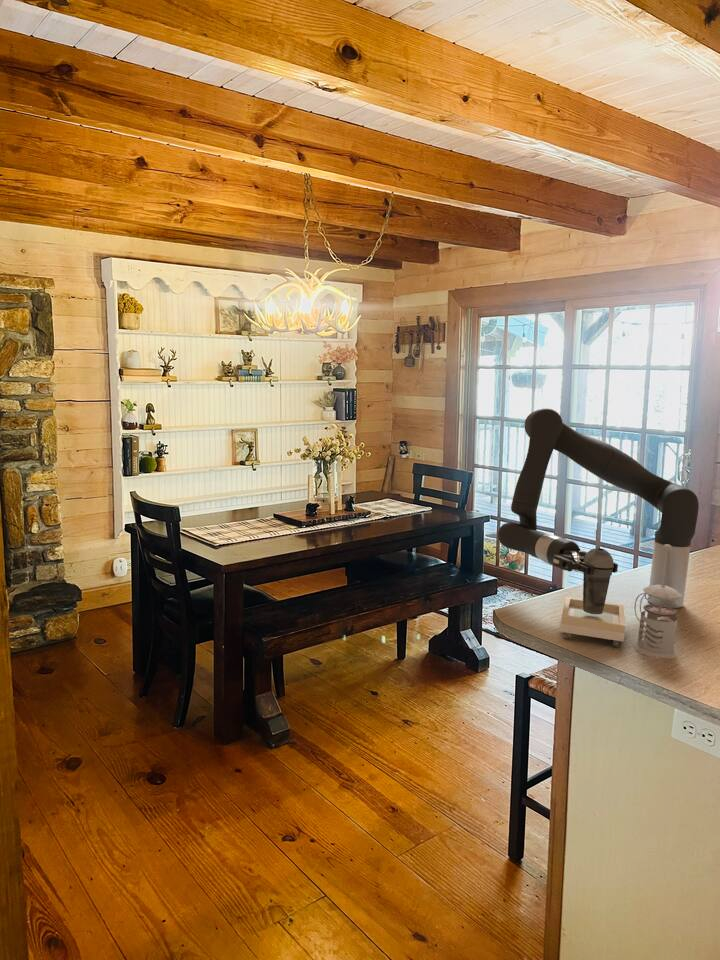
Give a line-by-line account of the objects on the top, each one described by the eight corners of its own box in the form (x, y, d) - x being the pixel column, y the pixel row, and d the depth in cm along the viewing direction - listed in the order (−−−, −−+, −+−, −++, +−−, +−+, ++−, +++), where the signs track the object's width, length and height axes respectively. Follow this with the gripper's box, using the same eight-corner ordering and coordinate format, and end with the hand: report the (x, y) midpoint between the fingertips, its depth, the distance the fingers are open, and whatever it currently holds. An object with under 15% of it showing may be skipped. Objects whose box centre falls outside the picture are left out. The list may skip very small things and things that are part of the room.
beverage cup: (610, 618, 167) (620, 535, 163) (578, 614, 168) (587, 532, 165) (606, 608, 174) (615, 528, 170) (575, 604, 175) (584, 525, 172)
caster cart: (563, 618, 181) (565, 596, 180) (621, 627, 177) (623, 605, 176) (559, 639, 166) (561, 616, 165) (622, 649, 162) (625, 625, 161)
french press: (655, 660, 157) (668, 551, 153) (617, 641, 167) (628, 538, 163) (688, 655, 161) (701, 548, 157) (648, 637, 171) (660, 536, 167)
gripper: (536, 539, 178) (583, 556, 163) (580, 535, 184) (628, 552, 170) (533, 567, 179) (579, 587, 165) (577, 563, 186) (625, 582, 171)
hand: (604, 569), depth 167 cm, fingers closed on beverage cup, 7 cm apart
